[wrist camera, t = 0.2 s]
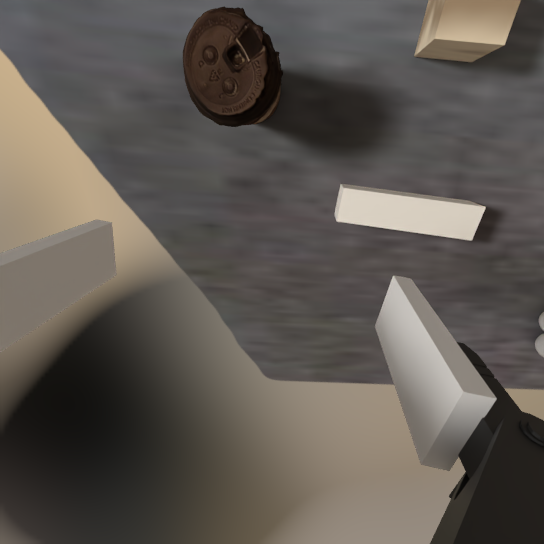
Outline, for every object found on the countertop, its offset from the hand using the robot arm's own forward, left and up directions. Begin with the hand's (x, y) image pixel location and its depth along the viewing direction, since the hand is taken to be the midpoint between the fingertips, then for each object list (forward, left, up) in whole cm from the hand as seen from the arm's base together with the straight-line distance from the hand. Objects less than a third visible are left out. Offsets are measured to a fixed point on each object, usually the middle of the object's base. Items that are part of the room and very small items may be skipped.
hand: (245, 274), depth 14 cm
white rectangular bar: (0, +14, -28) cm, 31 cm away
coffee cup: (-11, -6, -28) cm, 30 cm away
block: (-19, +14, -28) cm, 36 cm away
